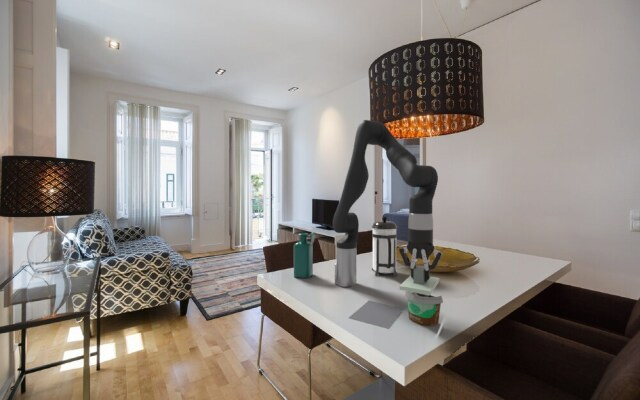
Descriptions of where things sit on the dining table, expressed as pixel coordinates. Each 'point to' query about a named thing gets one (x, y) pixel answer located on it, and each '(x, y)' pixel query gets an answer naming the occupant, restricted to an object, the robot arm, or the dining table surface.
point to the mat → (377, 314)
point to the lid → (419, 282)
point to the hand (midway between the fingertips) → (420, 280)
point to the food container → (423, 308)
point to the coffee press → (384, 247)
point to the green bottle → (303, 256)
